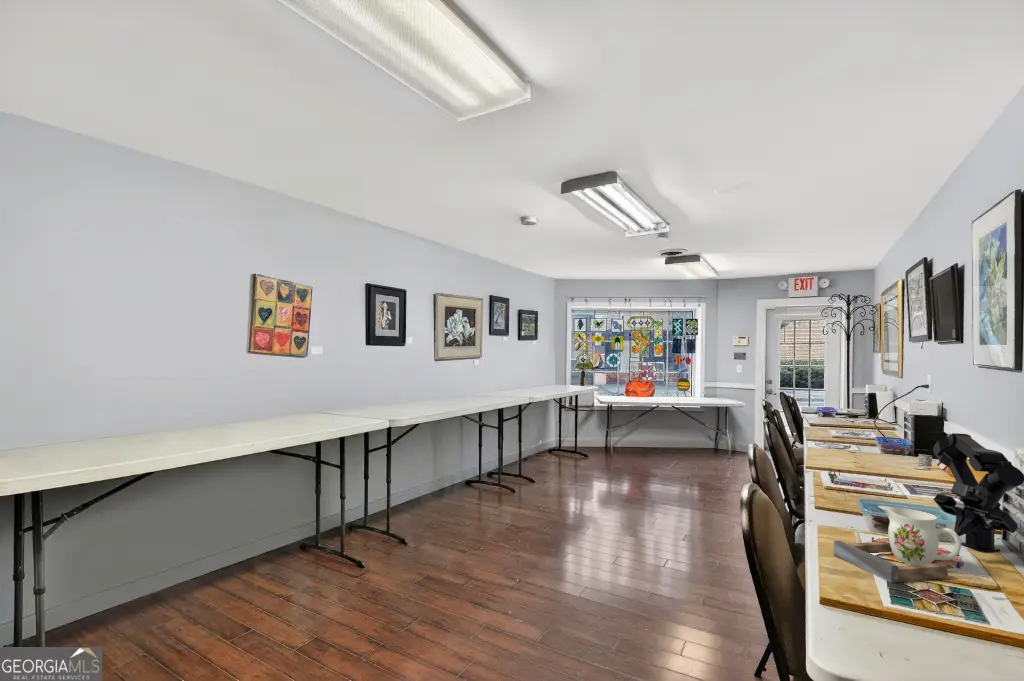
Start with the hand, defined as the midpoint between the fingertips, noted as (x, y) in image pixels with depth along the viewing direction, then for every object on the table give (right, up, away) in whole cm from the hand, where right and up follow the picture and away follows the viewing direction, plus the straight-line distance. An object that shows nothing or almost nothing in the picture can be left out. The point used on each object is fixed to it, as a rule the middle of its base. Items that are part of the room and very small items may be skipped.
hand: (956, 534), depth 147 cm
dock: (-22, -7, -4) cm, 23 cm away
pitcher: (-12, -7, -3) cm, 15 cm away
